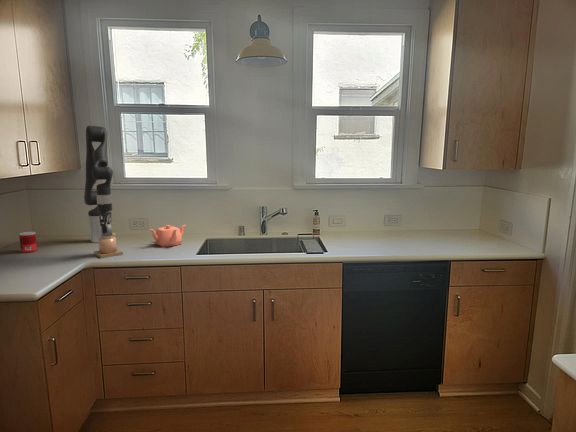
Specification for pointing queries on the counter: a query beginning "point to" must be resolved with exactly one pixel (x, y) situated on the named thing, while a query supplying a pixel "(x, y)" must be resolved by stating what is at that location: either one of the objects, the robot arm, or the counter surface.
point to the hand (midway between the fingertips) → (106, 231)
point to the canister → (107, 247)
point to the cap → (108, 231)
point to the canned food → (28, 242)
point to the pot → (168, 235)
